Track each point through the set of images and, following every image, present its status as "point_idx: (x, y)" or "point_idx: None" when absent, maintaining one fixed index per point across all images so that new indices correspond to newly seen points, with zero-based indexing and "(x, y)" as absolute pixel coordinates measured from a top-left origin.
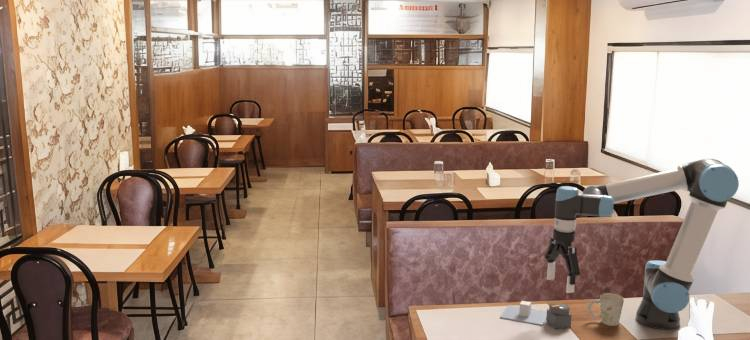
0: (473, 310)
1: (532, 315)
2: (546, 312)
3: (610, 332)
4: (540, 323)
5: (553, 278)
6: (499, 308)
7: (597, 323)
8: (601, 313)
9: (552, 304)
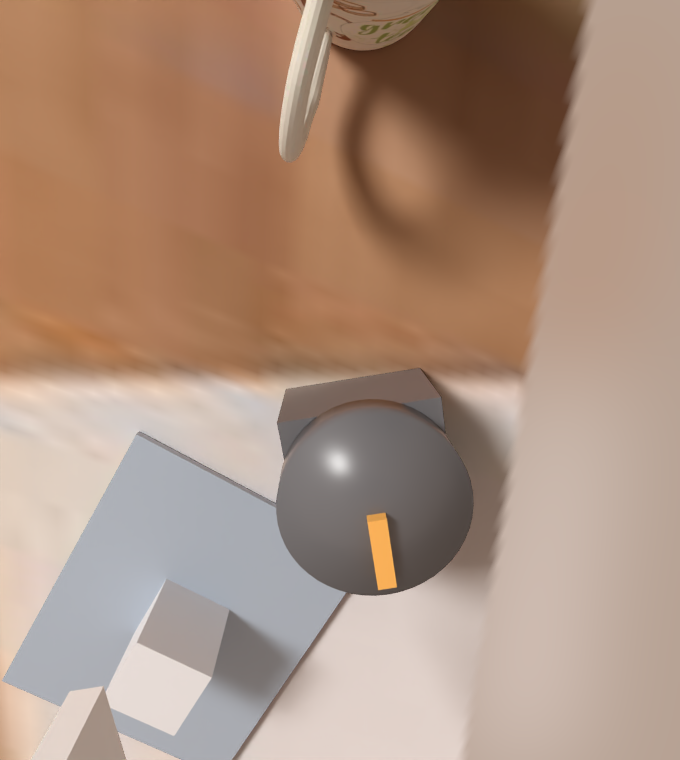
0: None
1: (202, 576)
2: (143, 459)
3: (557, 72)
4: None
5: (99, 711)
6: None
7: (367, 104)
8: (358, 31)
9: (311, 553)
